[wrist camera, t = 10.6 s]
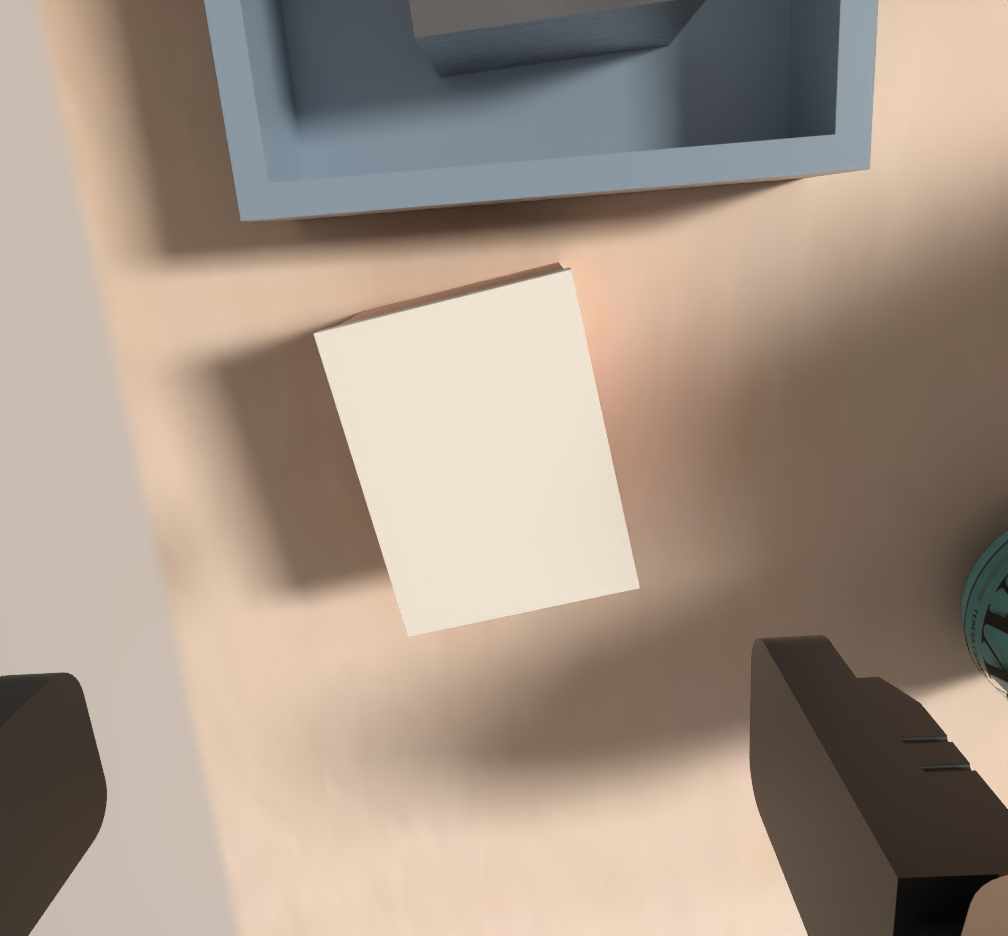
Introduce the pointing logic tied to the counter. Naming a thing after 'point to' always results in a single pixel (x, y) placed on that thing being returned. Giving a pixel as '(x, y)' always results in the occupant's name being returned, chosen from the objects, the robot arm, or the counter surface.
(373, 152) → the box
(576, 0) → the iron block
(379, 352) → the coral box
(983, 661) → the beverage bottle
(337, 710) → the counter surface
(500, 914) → the counter surface
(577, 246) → the counter surface
